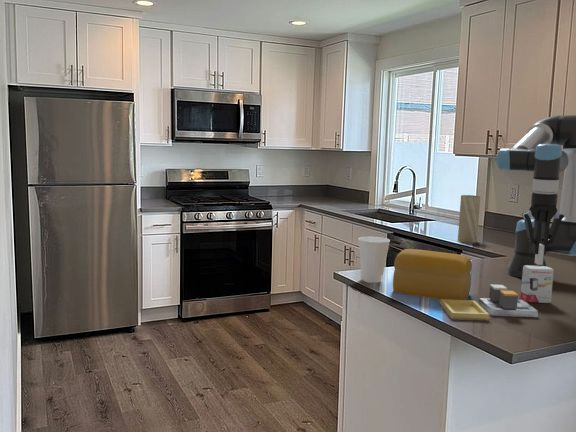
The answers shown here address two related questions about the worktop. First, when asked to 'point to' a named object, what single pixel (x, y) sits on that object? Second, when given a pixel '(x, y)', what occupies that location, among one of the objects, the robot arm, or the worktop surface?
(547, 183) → the robot arm
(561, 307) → the worktop surface
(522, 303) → the panel
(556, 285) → the worktop surface
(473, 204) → the tube
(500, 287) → the toggle plain
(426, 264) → the bread
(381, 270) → the cup
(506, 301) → the grey block
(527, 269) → the ink box
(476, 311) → the yellow tray
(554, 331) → the worktop surface
